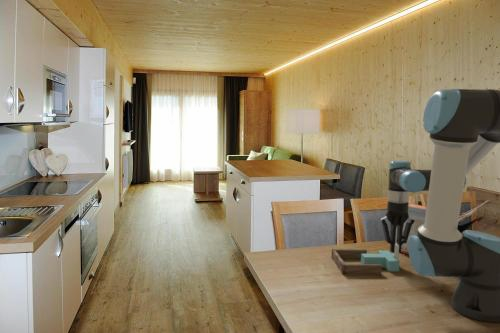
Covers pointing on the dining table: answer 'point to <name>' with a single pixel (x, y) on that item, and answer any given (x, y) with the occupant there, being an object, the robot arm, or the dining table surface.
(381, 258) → the t block
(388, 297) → the dining table surface
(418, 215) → the cracker box
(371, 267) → the nest
